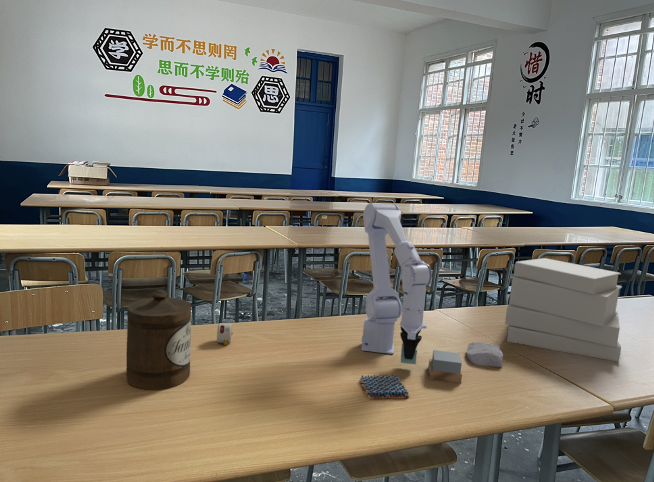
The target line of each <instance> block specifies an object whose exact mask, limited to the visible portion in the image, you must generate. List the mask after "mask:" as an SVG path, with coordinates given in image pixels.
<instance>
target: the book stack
mask: <svg viewBox="0 0 654 482" xmlns="http://www.w3.org/2000/svg"><path fill="white" fill-rule="evenodd" d="M619 275H622V273H621V272H618V271H613V270H607V269H601V268H596V267H592V266H588V265H587V266H586V265H581V264H576V263H572V262H566V261H562V260H558V259H557V260H556V259H551V258H546V257H545V258H544V257H543V258H535V259H527V260H520V261H519V260H518V261H516V262H515V265H514V273H513V277H512V280H511V286H510V292H509V293H510V295H509V303H508V305H507V307H506V313H505V314H506V315H505V321H504V325H506V326H508V328H507V338H506V339H507V342H508V343H512V344H517V343H519V345H523V344H525V345H524V346H528V345H529V346H530V347H535V348H540V349H546V350H551V351H557V352H563V353H566V354H567V353H569V354H574V355H580V356H583V357H588V358H589V357H590V358H596V359H601V360H606V361H613V362H617V363H618V362H619V361H620V356H621V351H622V346H621V344H620V343H619V335H620V330H621V329H620V328H621V327H620V321H619V320H620V319H619V312H618V311H617V305H618V300H619V294H620V289H622V288H623V286H622V285H618V280H619V279H618V278H619Z"/></svg>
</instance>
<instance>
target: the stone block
mask: <svg viewBox="0 0 654 482" xmlns="http://www.w3.org/2000/svg"><path fill="white" fill-rule="evenodd" d="M500 348H501V346H500V345H499V344H493V343H490V342H483V341H476V342H469V343H468V345H467V348H466V354H467V355H466V356H467V360H469V362H471V364H473V365H477V364H478V366H484V367H485V366H486V367H492V366H493V368H502V367H503V361H504V353H503V352H502V350H501V349H500Z"/></svg>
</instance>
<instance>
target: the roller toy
mask: <svg viewBox="0 0 654 482" xmlns="http://www.w3.org/2000/svg"><path fill="white" fill-rule="evenodd" d="M232 327H233V325H232V323H225V322H222V323H221V322H220V323H218V325H217V330H216V331H217V332H216V342H217V343H218V344H224V346H228V344H230V343H232V335H234V332H233V328H232Z"/></svg>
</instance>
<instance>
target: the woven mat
mask: <svg viewBox="0 0 654 482" xmlns="http://www.w3.org/2000/svg"><path fill="white" fill-rule="evenodd" d="M359 379H360V380H359V382H360V384H361V386H362V387H363V389H364V390H365V393H366V396H367V398H368V399H371V400H373V399H374V400H376V399H405V398H406V399H408V398H410V395H409V391H408V389H407V388H406V386H405V384H403V382H402V381H401V380H400V378H399V377H398V376H397V375H393V374H391V375H387V374H386V375H383V376H382V375H381V374H380V375H375V374H374V375H371V376H370V375H367V376H366V375H361V377H360V378H359Z"/></svg>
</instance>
